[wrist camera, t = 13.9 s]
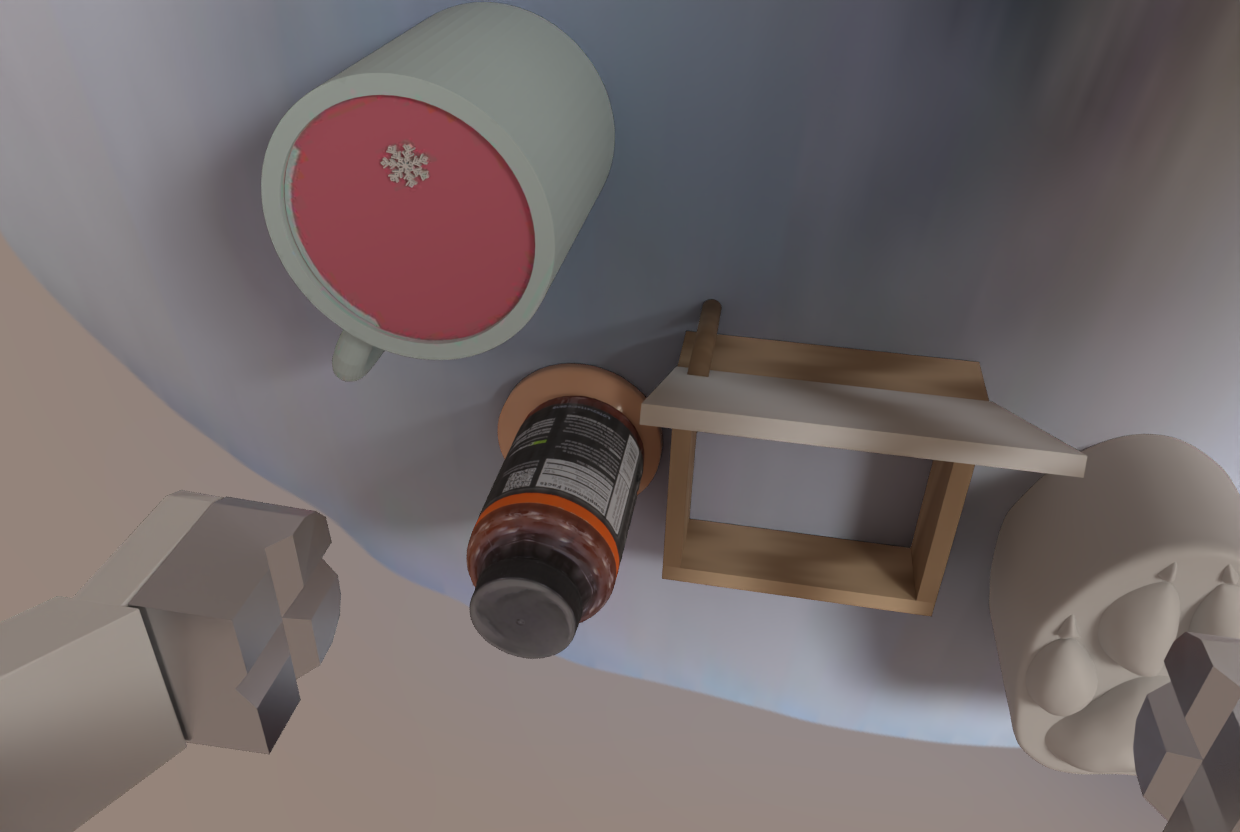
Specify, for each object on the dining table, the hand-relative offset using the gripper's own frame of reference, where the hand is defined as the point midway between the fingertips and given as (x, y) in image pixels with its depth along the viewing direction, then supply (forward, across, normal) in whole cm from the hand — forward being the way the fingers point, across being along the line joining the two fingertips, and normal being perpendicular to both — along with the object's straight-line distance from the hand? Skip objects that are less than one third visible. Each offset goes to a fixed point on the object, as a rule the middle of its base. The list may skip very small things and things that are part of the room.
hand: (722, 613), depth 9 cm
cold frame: (+29, -3, +16) cm, 33 cm away
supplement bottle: (+28, +7, +19) cm, 35 cm away
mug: (+29, +12, +7) cm, 32 cm away
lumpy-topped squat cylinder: (+29, -17, +22) cm, 40 cm away
